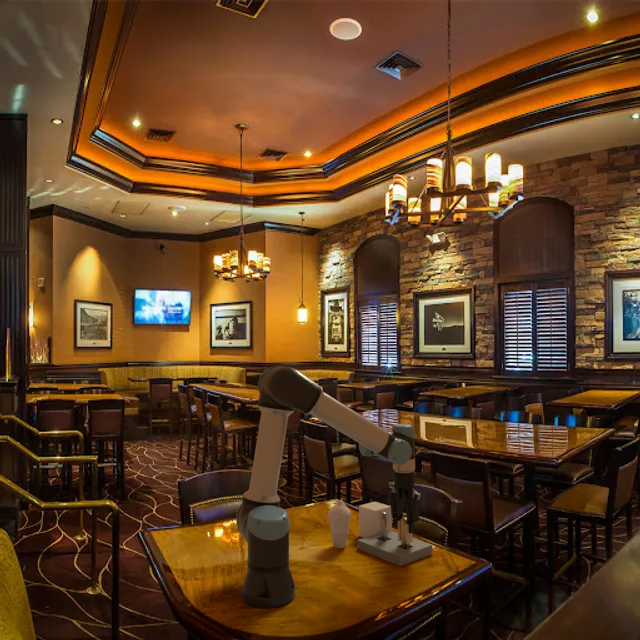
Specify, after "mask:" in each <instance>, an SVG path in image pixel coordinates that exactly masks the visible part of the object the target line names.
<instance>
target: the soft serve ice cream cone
mask: <svg viewBox="0 0 640 640" xmlns="http://www.w3.org/2000/svg"><path fill="white" fill-rule="evenodd" d="M327 516H328V521H329V527H330V529H329V531H330V533H331V538H332V543H333V548H335V549H344V548H346V547H347V543H348V536H349V531H350V529H349V528H350V523H351V522H350V520H351V517H352V512H351V510H350V509H349V508H348V507H347V506H346V503H345V502H344V501H343V500H342V499H339V500H338V501H337V502H336V503H335V504H334V505H333V506H332V507H331V508H329V509H328V512H327Z"/></svg>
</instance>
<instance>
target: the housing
mask: <svg viewBox="0 0 640 640" xmlns="http://www.w3.org/2000/svg"><path fill="white" fill-rule="evenodd" d="M381 511H385V512H388V530H390V531H393V523H392V522H393V520H392V519H393V517H392V515H391V505H387V504H385V503H381V502H378V501H372V502H368V503H364V504H361V505H358V535H359V537H362V538H366V537H369V536H372V535H375V534H378V533H379V512H381Z"/></svg>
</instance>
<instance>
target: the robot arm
mask: <svg viewBox="0 0 640 640" xmlns="http://www.w3.org/2000/svg"><path fill="white" fill-rule="evenodd" d="M257 388H258V393H259V395H258V396H259V397H258V402H257V407H258V409H259V410H260V419H259V426H258V431H257V439H256V445H255V451H254V458H253V463H252V468H251V476H250V480H249V487H248V490H247V491H245V492H244V493H243V494H242V501H241V504H240V506H238V509H237V511H236V518H235V520H236V521H235V522H236V526H237V529H238V531H239V533H241V535H242V537H243V538H244V540H245V541H246V543H247V570H246V574H245V577H244V580H243V583H242V587H241V600H242V602H243V601H244V604H246V605H248V606H250V605H251V606H250V607H253V606H254V608H259V607H260V608H261V609H267V608H268V609H270V608H271V609H273V608H277V607H278V608H279V607H281V606H282V607H283V606H285V605H287V604H288V603H291V602H292V601H293V600H294V599H295V598H296V584H295V580H294V578H293V575H292V573H291V569H290V520H289V517H290V516H289V514H288V512H287V511H286V510H285V509H284V508H282V507H280V503H281V498H280V497H279V495H278V493H277V492H278V486H279V484H278V483H279V480H280V479H279V478H280V471H281V466H282V460H283V452H284V448H285V447H284V446H285V440H286V434H287V427H288V421H289V416H291V415H292V414H293V413H294V412H295V411H298V412H300V413H301V414H303V415H305V416H307V415H312V416H313V417H315V418H316V419H318V420H320V421H321V422H323V423H325V424H326V425H328V426H330V427H332V428H333V429H335V430H336V431H338V432H340V433H342V434H343V435H345V436H347V437H349V438H350V439H352V440H353V441H355V442H356V443H358V449H359V452H360V454H361V455H362V456H363V457H373V456H376V457H378V458H380V459H383V460H386V461H388V462H390V463H392V469H393V471H392V481H393V483H394V484H393V486H389V487H388V488H387V491H388V493H389V501H390V503H389V504H390V506H391V515H392V518H395V520H396V530H397V533H398V541H401V518H402V517H404V507H405V514H406V517H407V522H406V523H405V530H406V544H409V543H411V542H413V538H414V537H413V536H414V532H415V523H418V522H419V521H420V512H421V511H420V508H421V499H422V498H423V497H422V496H423V494H422V493H421V492H418V491H417V490H416V488H415V487H416V486H415V484H416V471H415V470H416V456H415V455H416V450H415V449H416V442H415V440H416V437H415V435H416V434H415V428H414V426H413V425H412V424H407V423H397V424H393V425H392V427H391V430H390V431H387V430H386V429H385V428H382V427H380V425H377V424H376V423H375V422H372V421H371V420H369V419H368V418H366V417H365V416H363V415H361V414H360V413H358V412H356V411H355V410H353V409H352V408H350V407H349V406H347V405H346V404H343V403H342V402H340V401H339V400H338V399H335V398H334V397H332V396H330V395H329V394H328V393H326V392H324V390H323V387H322V386H321V385H319V384H318V383H316V382H315V381H313V380H312V379H311V378H309V377H308V376H307V375H305V374H304V373H302V372H301V371H299V370H298V369H296V368H294V367H291V366H290V367H289V366H283V365H275V366H271V367H269V368H267V369H266V370H264V371H263V372H262V373H261V375H260V377H259V379H258V381H257ZM260 608H259V609H260Z"/></svg>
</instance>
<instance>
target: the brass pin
mask: <svg viewBox="0 0 640 640" xmlns="http://www.w3.org/2000/svg"><path fill="white" fill-rule="evenodd" d="M406 522H407V516H403V517H402V518H401V548H403V549H405V550H406V549H409V548H410V543H409V544H406V530H405V523H406Z"/></svg>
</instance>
